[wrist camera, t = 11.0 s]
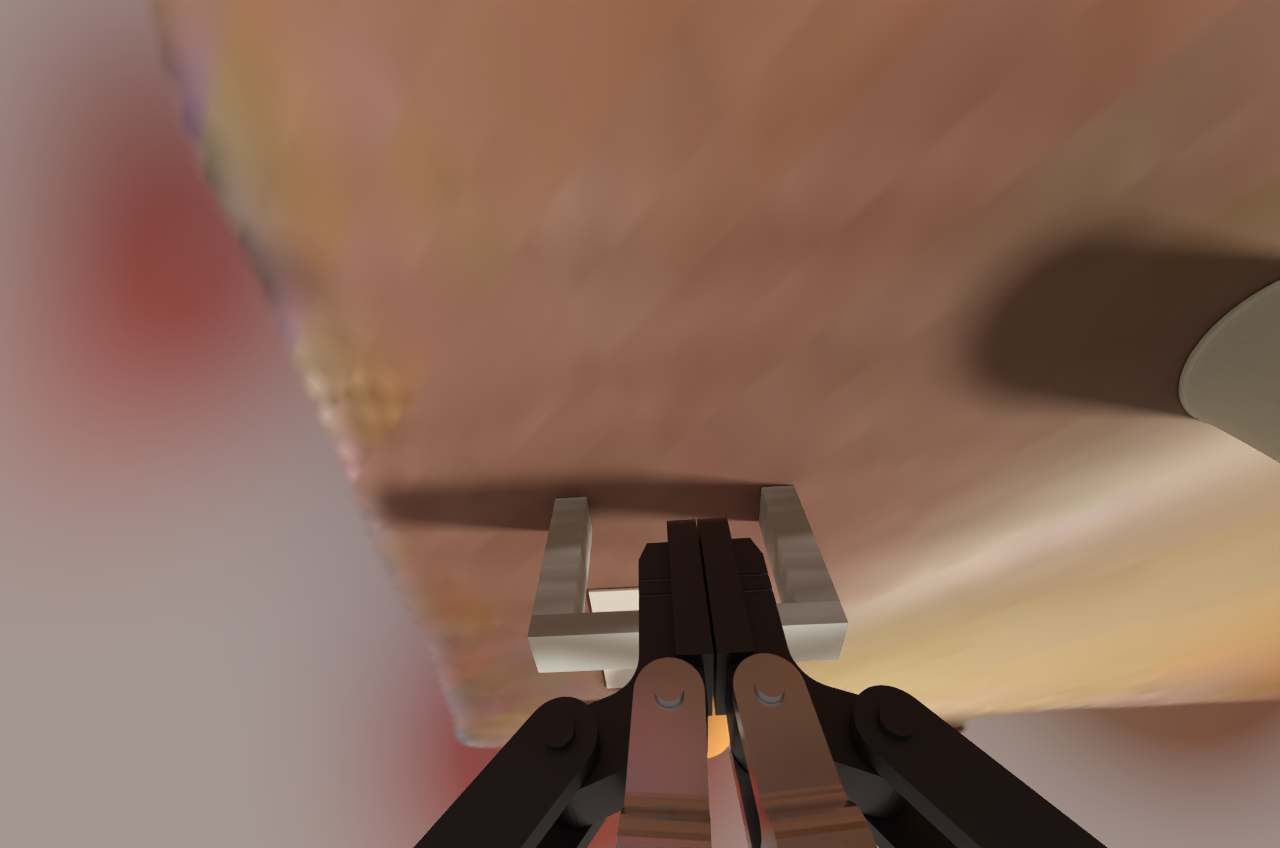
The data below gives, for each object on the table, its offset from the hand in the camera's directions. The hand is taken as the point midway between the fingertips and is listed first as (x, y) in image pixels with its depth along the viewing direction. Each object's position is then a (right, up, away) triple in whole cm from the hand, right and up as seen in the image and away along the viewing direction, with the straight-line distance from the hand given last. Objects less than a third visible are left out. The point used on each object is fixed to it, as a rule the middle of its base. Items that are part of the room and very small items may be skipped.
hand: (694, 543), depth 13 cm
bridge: (+1, -2, +20) cm, 20 cm away
